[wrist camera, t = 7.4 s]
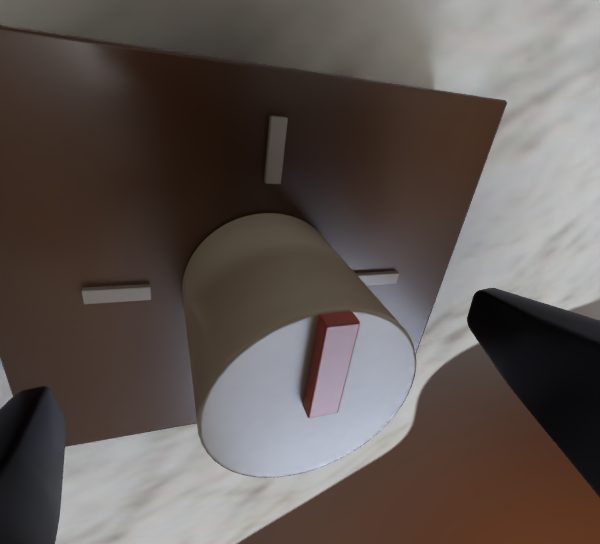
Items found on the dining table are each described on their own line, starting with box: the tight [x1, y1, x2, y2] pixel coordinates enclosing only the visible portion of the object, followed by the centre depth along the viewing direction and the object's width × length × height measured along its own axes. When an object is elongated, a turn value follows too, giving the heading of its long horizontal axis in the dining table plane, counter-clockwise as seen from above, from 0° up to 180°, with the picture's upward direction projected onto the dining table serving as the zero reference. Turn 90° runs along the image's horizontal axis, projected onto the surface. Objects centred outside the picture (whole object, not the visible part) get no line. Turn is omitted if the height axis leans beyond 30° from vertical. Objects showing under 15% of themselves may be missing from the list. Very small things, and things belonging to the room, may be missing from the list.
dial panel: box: [0, 25, 507, 447], centre depth 11 cm, size 12×10×3 cm
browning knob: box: [182, 213, 416, 478], centre depth 8 cm, size 4×4×4 cm
